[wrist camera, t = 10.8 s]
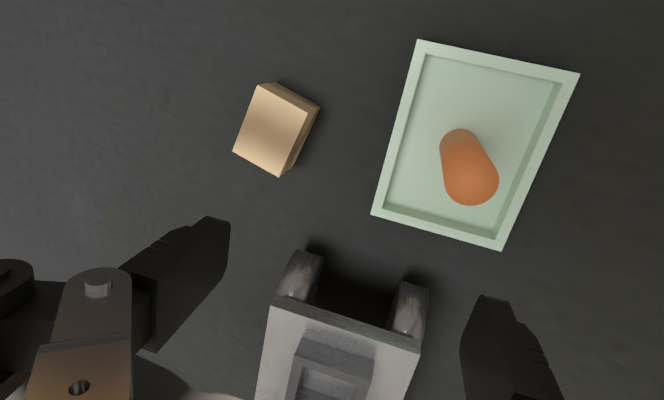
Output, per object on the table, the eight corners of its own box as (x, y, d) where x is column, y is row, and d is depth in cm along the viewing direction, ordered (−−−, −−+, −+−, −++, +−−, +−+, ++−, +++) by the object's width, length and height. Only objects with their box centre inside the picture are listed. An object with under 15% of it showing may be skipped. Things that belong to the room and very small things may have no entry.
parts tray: (418, 40, 28) (417, 38, 26) (567, 72, 27) (580, 73, 25) (373, 204, 34) (370, 214, 32) (495, 238, 32) (501, 251, 30)
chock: (276, 82, 32) (257, 84, 29) (321, 106, 32) (308, 113, 28) (252, 141, 35) (232, 151, 31) (294, 165, 35) (278, 177, 31)
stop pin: (446, 124, 29) (453, 150, 21) (484, 134, 29) (507, 164, 21) (434, 160, 30) (437, 198, 22) (471, 169, 30) (488, 211, 22)
